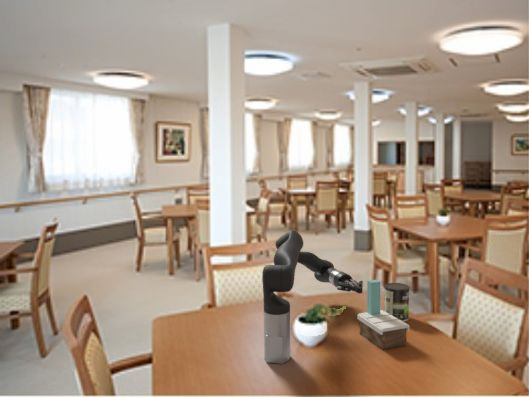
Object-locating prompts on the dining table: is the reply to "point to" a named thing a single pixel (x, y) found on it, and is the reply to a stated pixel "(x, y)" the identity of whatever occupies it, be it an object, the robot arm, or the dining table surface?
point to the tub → (384, 337)
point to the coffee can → (397, 300)
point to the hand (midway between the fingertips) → (360, 291)
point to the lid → (378, 312)
